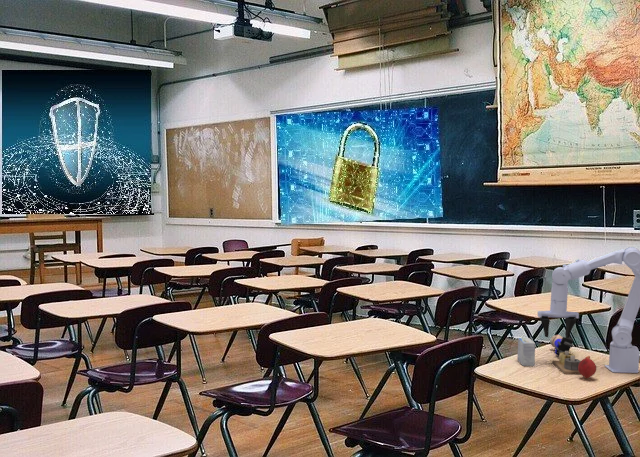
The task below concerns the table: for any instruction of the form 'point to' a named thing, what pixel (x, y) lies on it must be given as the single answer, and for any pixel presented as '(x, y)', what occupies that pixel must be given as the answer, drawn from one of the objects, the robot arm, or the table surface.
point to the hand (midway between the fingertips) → (556, 336)
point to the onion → (587, 367)
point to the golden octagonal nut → (564, 357)
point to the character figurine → (561, 343)
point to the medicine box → (526, 352)
